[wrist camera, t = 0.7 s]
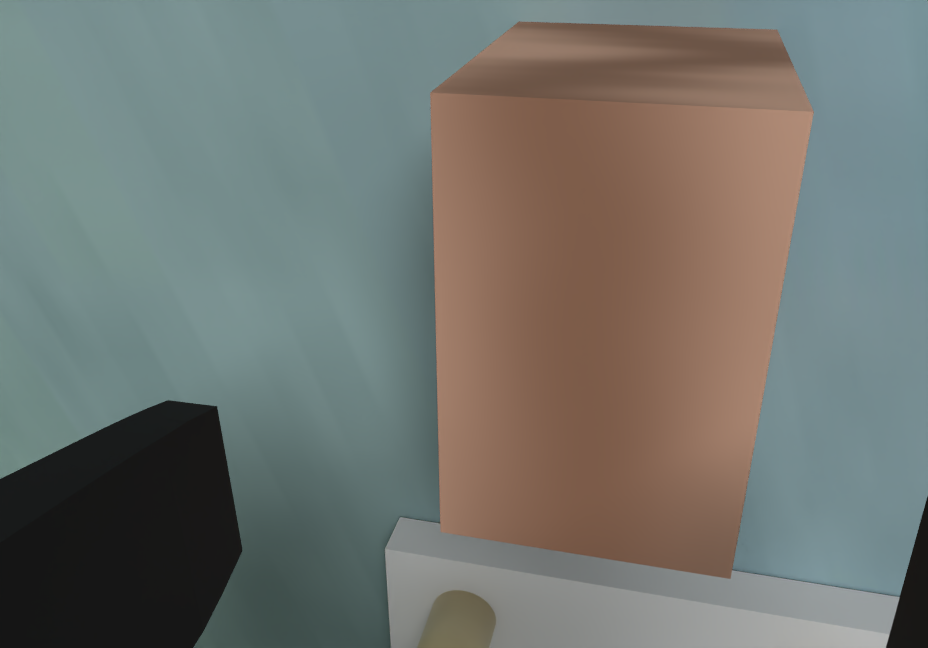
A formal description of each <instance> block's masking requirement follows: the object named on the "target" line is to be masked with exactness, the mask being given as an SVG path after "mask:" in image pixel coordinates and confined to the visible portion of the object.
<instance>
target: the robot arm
mask: <svg viewBox="0 0 928 648" xmlns="http://www.w3.org/2000/svg"><path fill="white" fill-rule="evenodd" d="M241 552H242V545H241V539H240V534H239V528H238V522H237V517H236V511H235V505H234V500H233V494H232V489H231V483H230V477H229V472H228V466H227V460H226V455H225V449H224V443H223V438H222V432H221V426H220V421H219V415H218V410H217V406H209V405H201V404H193V403H185V402H177V401H169V400H168V401H165V402H163V403H160V404H157V405H155V406H152V407H150V408H147V409H145V410H142V411H140V412H138V413H136V414H133V415H131V416H129V417H127V418H125V419H122V420H120V421H118V422H116V423H114V424H112V425H110V426H108V427H105V428H103V429H101V430H99V431H97V432H95V433H93V434H91V435H89V436H87V437H85V438H83V439H81V440H79V441H77V442H75V443H73V444H71V445H69V446H67V447H65V448H63V449H60V450H58V451H56V452H54V453H52V454H50V455H48V456H46V457H44V458H42V459H40V460H38V461H36V462H34V463H32V464H30V465H28V466H26V467H24V468H22V469H20V470H18V471H16V472H14V473H12V474H10V475H8V476H6V477H4V478H2V479H0V648H193V647H194V645H195V644H196V642H197V640H198V639H199V637H200V636H201V634H202V633H203V631H204V629H205V627H206V625H207V623H208V621H209V619H210V617H211V615H212V613H213V611H214V609H215V607H216V605H217V603H218V601H219V599H220V597H221V595H222V593H223V591H224V589H225V587H226V585H227V583H228V580H229V578H230V576H231V574H232V572H233V570H234V568H235V565H236V563H237V561H238V559H239V557H240V555H241ZM886 648H928V497H927V501H926V504H925V508H924V511H923V515H922V519H921V522H920V526H919V530H918V533H917V537H916V540H915V544H914V548H913V551H912V555H911V558H910V562H909V566H908V569H907V573H906V577H905V580H904V584H903V587H902V591H901V595H900V598H899V602H898V606H897V609H896V613H895V616H894V620H893V624H892V627H891V631H890V634H889V638H888V642H887V645H886Z"/></svg>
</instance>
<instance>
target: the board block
mask: <svg viewBox="0 0 928 648" xmlns="http://www.w3.org/2000/svg"><path fill="white" fill-rule="evenodd" d="M430 95H431V139H432V182H433V226H434V269H435V313H436V357H437V400H438V444H439V487H440V531H441V532H443V533H449V534H455V535H461V536H468V537H474V538H480V539H486V540H492V541H498V542H505V543H511V544H517V545H523V546H529V547H536V548H542V549H548V550H554V551H560V552H566V553H573V554H579V555H585V556H591V557H597V558H604V559H610V560H616V561H622V562H628V563H634V564H641V565H647V566H653V567H659V568H665V569H672V570H678V571H684V572H690V573H696V574H702V575H709V576H715V577H721V578H727V579H731V573H732V568H733V562H734V556H735V551H736V545H737V540H738V534H739V528H740V523H741V517H742V512H743V506H744V500H745V495H746V489H747V483H748V478H749V472H750V467H751V461H752V455H753V450H754V444H755V439H756V433H757V427H758V422H759V416H760V410H761V405H762V399H763V394H764V388H765V382H766V377H767V371H768V366H769V360H770V354H771V349H772V343H773V337H774V332H775V326H776V321H777V315H778V309H779V304H780V298H781V293H782V287H783V281H784V276H785V270H786V264H787V259H788V253H789V248H790V242H791V236H792V231H793V225H794V220H795V214H796V208H797V203H798V197H799V191H800V186H801V180H802V175H803V169H804V163H805V158H806V152H807V147H808V141H809V135H810V130H811V124H812V118H813V113H814V111H813V109H812V107H811V105H810V102H809V100H808V98H807V96H806V93H805V91H804V89H803V87H802V84H801V82H800V80H799V78H798V75H797V73H796V71H795V69H794V66H793V64H792V62H791V60H790V58H789V55H788V53H787V51H786V49H785V46H784V44H783V42H782V40H781V37H780V35H779V33H778V31H777V30H769V29H736V28H704V27H672V26H640V25H608V24H576V23H544V22H518V23H517V24H515V25H514V26H513V27H512V28H510V29H509V30H508V31H507V32H505V33H504V34H503V35H502V36H500V37H499V38H498V39H497V40H495V41H494V42H493V43H492V44H490V45H489V46H488V47H487V48H485V49H484V50H483V51H482V52H480V53H479V54H478V55H477V56H475V57H474V58H473V59H472V60H470V61H469V62H468V63H467V64H466V65H464V66H463V67H462V68H461V69H459V70H458V71H457V72H456V73H454V74H453V75H452V76H451V77H449V78H448V79H447V80H446V81H444V82H443V83H442V84H441V85H439V86H438V87H437V88H436V89H434V90H433V91H432V92H431V93H430Z"/></svg>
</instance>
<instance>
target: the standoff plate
mask: <svg viewBox="0 0 928 648" xmlns="http://www.w3.org/2000/svg"><path fill="white" fill-rule="evenodd" d="M385 559H386V575H387V592H388V608H389V624H390V640H391V648H886V645H887V642H888V638H889V634H890V631H891V627H892V624H893V620H894V616H895V613H896V609H897V606H898V602H899V598H900V597H896V596H889V595H883V594H877V593H871V592H865V591H858V590H852V589H846V588H840V587H833V586H827V585H821V584H815V583H808V582H802V581H796V580H790V579H783V578H777V577H771V576H765V575H758V574H752V573H746V572H740V571H733V570H732V573H731V579H727V578H721V577H715V576H709V575H702V574H696V573H690V572H684V571H678V570H672V569H665V568H659V567H653V566H647V565H641V564H634V563H628V562H622V561H616V560H610V559H604V558H597V557H591V556H585V555H579V554H573V553H566V552H560V551H554V550H548V549H542V548H536V547H529V546H523V545H517V544H511V543H505V542H498V541H492V540H486V539H480V538H474V537H468V536H461V535H455V534H449V533H443V532H441V531H440V523H434V522H428V521H422V520H415V519H409V518H403V517H400V518H399V520H398V522H397V524H396V527H395V529H394V531H393V533H392V535H391V537H390V539H389V541H388V543H387V546H386V548H385Z"/></svg>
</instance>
